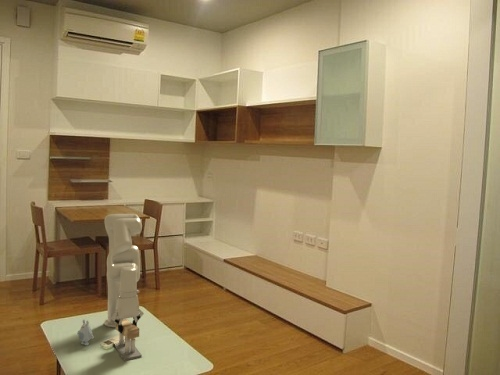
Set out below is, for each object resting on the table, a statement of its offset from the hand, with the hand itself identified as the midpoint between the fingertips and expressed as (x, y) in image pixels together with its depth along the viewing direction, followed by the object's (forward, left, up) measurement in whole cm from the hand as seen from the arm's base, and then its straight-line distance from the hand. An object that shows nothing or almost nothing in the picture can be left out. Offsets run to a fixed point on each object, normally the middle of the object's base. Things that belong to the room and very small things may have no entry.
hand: (127, 330), depth 207 cm
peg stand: (0, 0, -9) cm, 9 cm away
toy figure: (-15, -16, -10) cm, 24 cm away
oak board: (0, 0, -1) cm, 1 cm away
